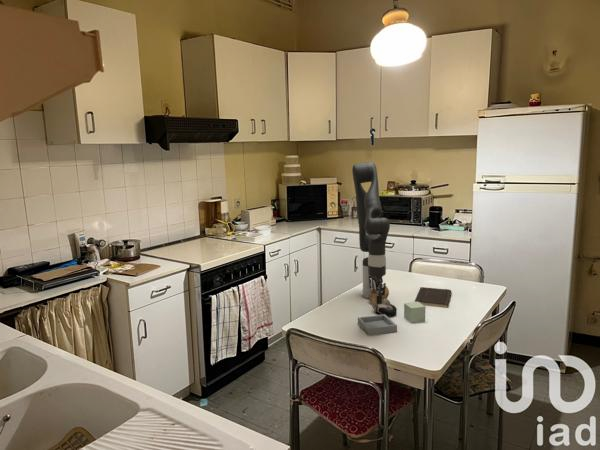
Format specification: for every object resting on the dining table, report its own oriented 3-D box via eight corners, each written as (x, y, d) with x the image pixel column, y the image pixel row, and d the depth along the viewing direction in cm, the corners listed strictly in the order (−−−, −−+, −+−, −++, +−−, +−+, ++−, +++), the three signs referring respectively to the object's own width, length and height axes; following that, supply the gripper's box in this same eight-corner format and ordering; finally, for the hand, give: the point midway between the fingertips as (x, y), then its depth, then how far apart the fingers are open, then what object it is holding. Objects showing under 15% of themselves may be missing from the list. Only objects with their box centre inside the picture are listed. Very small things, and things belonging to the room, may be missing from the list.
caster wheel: (396, 321, 214) (376, 319, 212) (390, 308, 224) (371, 306, 223) (399, 309, 211) (378, 307, 210) (393, 296, 221) (373, 294, 220)
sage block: (404, 317, 212) (404, 303, 210) (417, 315, 213) (418, 301, 212) (410, 323, 205) (411, 308, 204) (425, 321, 206) (425, 306, 205)
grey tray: (357, 323, 206) (357, 317, 205) (384, 320, 208) (384, 314, 208) (368, 335, 193) (368, 328, 193) (397, 331, 196) (397, 325, 195)
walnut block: (369, 301, 201) (369, 290, 200) (379, 300, 202) (379, 289, 201) (373, 305, 196) (373, 293, 195) (384, 303, 197) (384, 292, 196)
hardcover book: (414, 305, 228) (414, 301, 227) (420, 291, 248) (420, 287, 248) (448, 309, 222) (448, 304, 221) (451, 293, 243) (451, 289, 242)
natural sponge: (380, 307, 224) (380, 288, 222) (366, 303, 231) (366, 284, 229) (392, 303, 230) (392, 284, 228) (378, 298, 237) (378, 280, 235)
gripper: (362, 260, 202) (362, 297, 205) (375, 268, 188) (375, 308, 191) (378, 259, 203) (378, 295, 206) (392, 267, 189) (391, 306, 192)
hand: (376, 301), depth 199 cm, fingers closed on walnut block, 5 cm apart
